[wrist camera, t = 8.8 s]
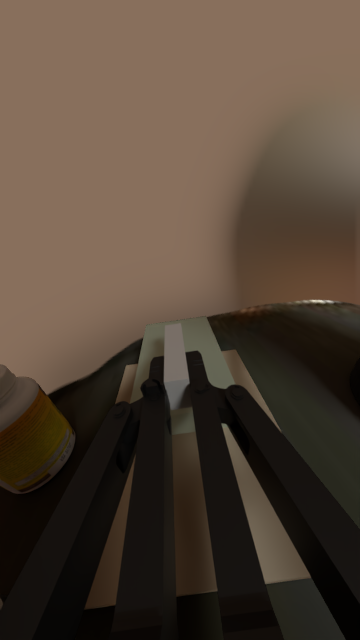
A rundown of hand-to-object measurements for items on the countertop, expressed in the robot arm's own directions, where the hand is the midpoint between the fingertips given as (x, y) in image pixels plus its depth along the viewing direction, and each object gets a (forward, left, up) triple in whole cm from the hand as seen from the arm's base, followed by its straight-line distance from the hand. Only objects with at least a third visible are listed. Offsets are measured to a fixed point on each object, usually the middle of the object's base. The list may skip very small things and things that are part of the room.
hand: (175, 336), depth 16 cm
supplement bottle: (+14, +5, -9) cm, 17 cm away
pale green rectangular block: (0, +5, -6) cm, 8 cm away
